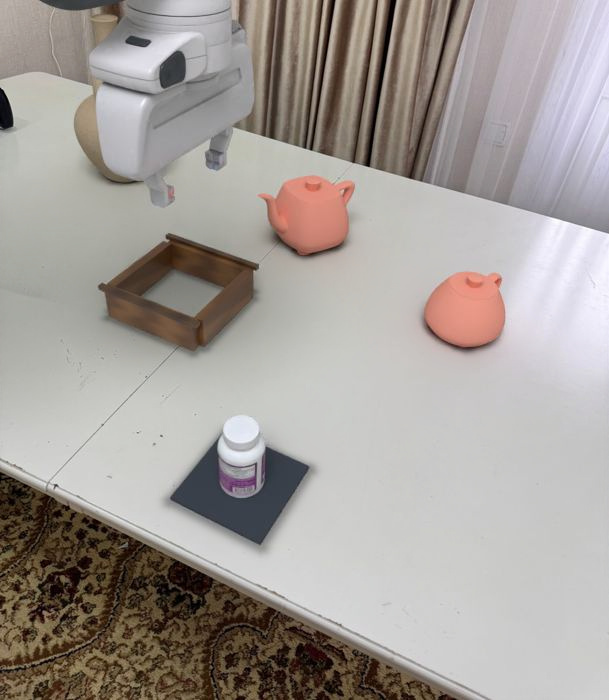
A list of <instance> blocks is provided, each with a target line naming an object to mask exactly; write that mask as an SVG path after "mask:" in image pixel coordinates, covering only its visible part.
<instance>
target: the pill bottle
mask: <svg viewBox="0 0 609 700" xmlns="http://www.w3.org/2000/svg"><path fill="white" fill-rule="evenodd" d="M222 433H223V434H222ZM222 433H221V434H222V435H221V434H220V435H221V437H220V436H219V437H220V439H219V441H218V447H217V449H218V465H219V480H220V485H221V487H222V489H223V490H224V491H225V492H226V493H227V494H228V495H230V496H232V497H236V498H247V497H250V496H253V495H255V494H256V493H258V492H259V491H260V490H261V488H262V487H263V484H264V480H265V448H266V447H267V445H266V440H265V438H264V436H263V434H262V433H261V430H260V425H259V423H258V421H257V420H256V419H255V418H253V417H251V416H249V415H245V414H239V415H238V414H237V415H234V416H232V417H230V418H228V419H227V420H226V421H225V422H224V424H223V427H222Z"/></svg>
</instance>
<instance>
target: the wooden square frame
mask: <svg viewBox="0 0 609 700" xmlns="http://www.w3.org/2000/svg"><path fill="white" fill-rule="evenodd" d="M165 239H166V240H167V241H164V240H162V241H161V242H160V243H158V244H157V245H156V246H154V247H153V248H152V249H151V250H149V251H147V253H145V254H143V255H142V256H141V257H140V258H139V259H137V260H136V261H134V262H133V263H132V264H130V265H129V266H128V267H126V268H125V269H124V270H123V271H121V272H120V273H119V274H117V275H116V276H114V277H113V278H112V279H111V280H109V281H108V282H106V283H105V282H100V283H99V284H98V285H97V289H98V291H101V292H103V293H104V297H105V303H106V308H107V313H108V317H110V318H112V319H114V320H117V321H119V322H121V323H124V324H127V325H129V326H131V327H134V328H135V329H139V330H141V331H143V332H146V333H149V334H151V335H153V336H155V337H159V338H160V339H163V340H165V341H167V342H170V343H172V344H174V345H177V346H179V347H181V348H185V349H187V350H189V351H192V352H194V351H195V350H197V348H199V346H200V347H203V348H205V347H206V346H207V345H208V344H209V343H210V342H211V341H212V340H213V339H214V338H215V337H216V336H217V335H218V334H219V333H220V332H221V331H222V329H224V328H225V327H226V326H227V325H228V324H229V323H230V321H231V320H233V319H234V318H235V316H237V314H238V313H240V311H241V310H242V309H243V308H244V307H245V306H246V305H248V303H249V302H251V300H253V294H254V272H257V271H258V270H259V269H260V264H259V263H256V262H253V261H250V260H248V259H244V258H242V257H239V256H237V255H234V254H231V253H228V252H225V251H222V250H219V249H217V248H214V247H211V246H208V245H206V244H203V243H200V242H197V241H194V240H191V239H189V238H185V237H182V236H180V235H177V234H174V233H171V232H168V233H167V234H165ZM174 269H175V270H176V271H180V272H183V273H185V274H188V275H190V276H192V277H196V278H198V279H201V280H204V281H207V282H208V283H211V284H214V285H217V286H220V287H222V288H223V289H222V290H221V291H219V292H218V294H217V295H215V296H214V297H213V298H212V299H211V300H209V302H208V303H207V304H206V305H205V306H204V307H203V308H202V309H201V310H199V311H198V312H197V313H196V315H194V316H191V315H188V314H185V313H183V312H181V311H178V310H176V309H173V308H170V307H168V306H166V305H163V304H160V303H158V302H156V301H153V300H150V299H148V298H145V297H143V296H142V295H143V294H145V292H147V291H148V290H149V289H150V288H152V287H153V286H154V285H155V284H157V283H158V282H159V281H160V280H161V279H163V278H164V277H166V275H168V274H169V273H170V272H171V271H173V270H174Z"/></svg>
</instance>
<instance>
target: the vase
mask: <svg viewBox="0 0 609 700" xmlns="http://www.w3.org/2000/svg"><path fill="white" fill-rule="evenodd" d="M89 20H90V22H91V24H92V27H93V30H94V34H95V38H96V39H95V40H96V44H97V46H98V45H99V44H100V43H101V42H102V41H103V40H104V39H105V38H106V37H107V36H108V35H109V34H110V33H111V32H112V31H113V30H114V28H115V27H116V26H117V25H118V20H119V18H118V16H116V15H115V14H110V13H97V14H93V15H91V16H90V17H89ZM102 82H103V81H101V80H99V79H96V78H94V77H93V76H92V75H91V85H92V93H93V94H90V95H89V96H87V97H86V98H85V99H83V100H82V102H80V104H79V105H78V107H77V108H76V111H75V112H74V117H73V130H74V133H75V138H76V140H77V142H78V144H79V146H80V148H81V150H82V151H83V153H84V155H85V156H86V157H87V159H88V160H89V161H90V163H91V164H92V165H93V166H94V167H95V168H96V170H97V171H98V172H99V173H100V174H101V175H103V176H104V177H105V178H107V179H109V180H110V181H112V182H113V181H114V182H118V183H131V182H135V181H136V180H132V179H129V178H126V177H123V176H120V175H117V174H115V173H113V172H112V171H111V170H110V169H109V168H108V167H107V166H106V165H105V163H104V160H103V157H102V152H101V147H100V141H99V134H98V127H97V118H96V95H97V91H98V89H99V87H100V85H101V84H102Z"/></svg>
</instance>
